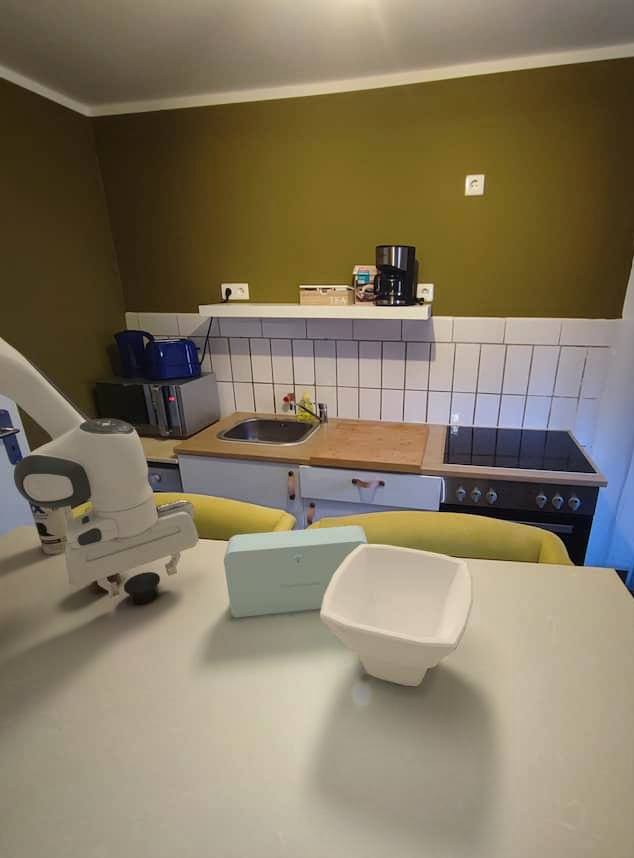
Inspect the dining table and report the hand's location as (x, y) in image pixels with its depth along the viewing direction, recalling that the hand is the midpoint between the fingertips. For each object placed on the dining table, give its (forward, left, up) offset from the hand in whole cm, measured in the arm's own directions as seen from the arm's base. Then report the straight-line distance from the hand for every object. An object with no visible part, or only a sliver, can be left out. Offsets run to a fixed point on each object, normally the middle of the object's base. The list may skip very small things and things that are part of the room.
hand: (144, 583), depth 76 cm
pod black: (0, 0, -3) cm, 3 cm away
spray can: (-11, +29, -4) cm, 31 cm away
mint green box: (+22, -18, -4) cm, 28 cm away
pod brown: (-5, +8, -3) cm, 10 cm away
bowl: (+27, -38, -4) cm, 46 cm away
